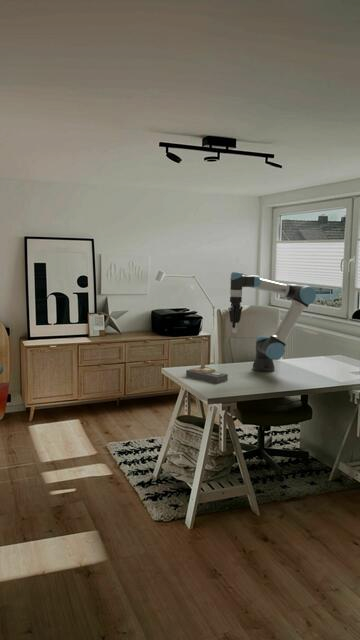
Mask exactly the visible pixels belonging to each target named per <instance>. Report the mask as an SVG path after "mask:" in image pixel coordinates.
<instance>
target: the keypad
mask: <svg viewBox="0 0 360 640" xmlns="http://www.w3.org/2000/svg"><path fill="white" fill-rule="evenodd" d="M195 368H196V367H194V368H190V369H186V370H185V377H188V378H192V379H196V380H201V381H205V382H208V383H213V384H219V383H223V382H227V381H229V380H228V379H229V377H228V376H229V375H228V373H223V372H219V371H216V370H215V371H212V373H215V372H217V373H222V375H219V376H215V375H211V373H209V374H206V373H202V372H201V371H198V372H197V371H193V370H192V369H195ZM197 368H198V367H197ZM198 369H201V368H198Z"/></svg>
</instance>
